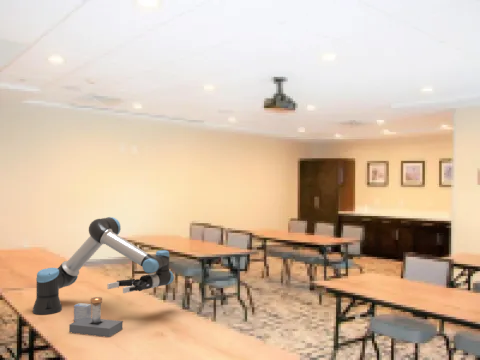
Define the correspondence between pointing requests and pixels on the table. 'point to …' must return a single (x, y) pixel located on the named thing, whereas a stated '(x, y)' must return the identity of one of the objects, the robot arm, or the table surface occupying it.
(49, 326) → the table surface
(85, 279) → the table surface
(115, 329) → the socket block
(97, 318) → the plug
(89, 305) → the medicine box
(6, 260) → the table surface
